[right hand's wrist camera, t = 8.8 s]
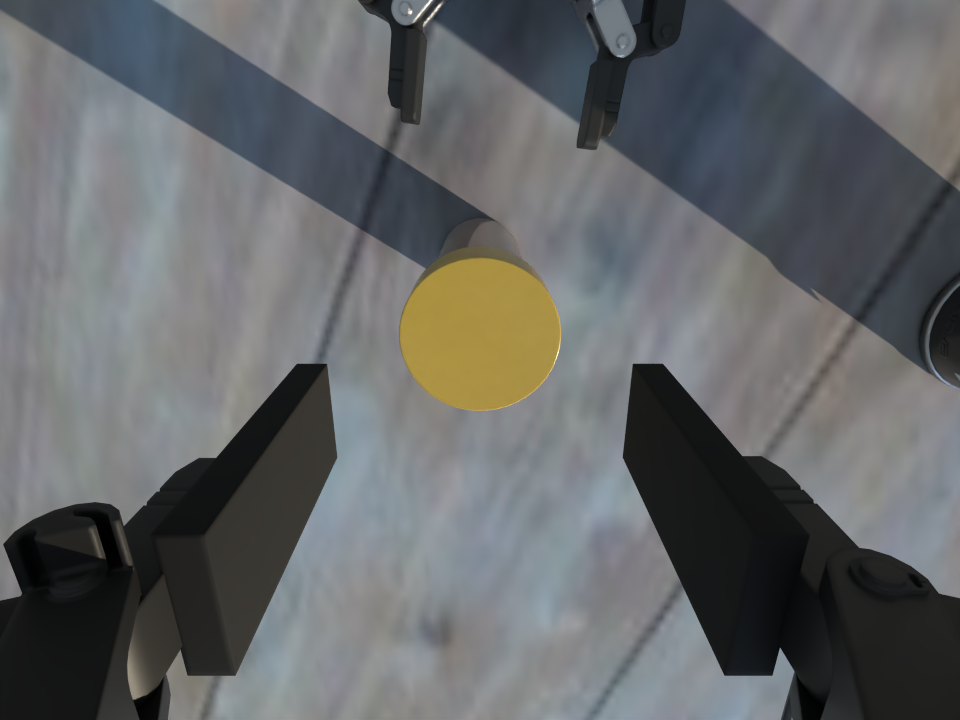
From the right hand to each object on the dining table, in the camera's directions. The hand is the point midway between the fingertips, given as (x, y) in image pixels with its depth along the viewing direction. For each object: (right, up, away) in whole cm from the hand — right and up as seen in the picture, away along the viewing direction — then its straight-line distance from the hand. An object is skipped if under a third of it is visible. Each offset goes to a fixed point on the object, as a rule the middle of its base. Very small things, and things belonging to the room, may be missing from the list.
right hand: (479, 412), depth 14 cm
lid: (0, +2, +6) cm, 6 cm away
